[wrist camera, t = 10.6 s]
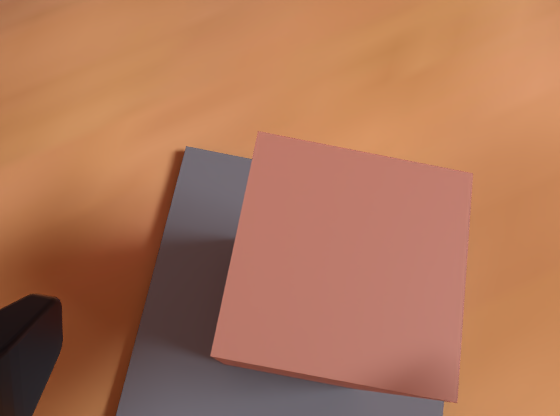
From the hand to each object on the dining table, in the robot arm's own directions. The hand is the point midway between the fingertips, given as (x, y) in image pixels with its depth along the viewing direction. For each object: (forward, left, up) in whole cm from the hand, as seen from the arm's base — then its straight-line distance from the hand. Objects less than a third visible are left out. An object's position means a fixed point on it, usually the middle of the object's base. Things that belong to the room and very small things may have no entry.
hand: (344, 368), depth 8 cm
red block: (+2, 0, -12) cm, 13 cm away
